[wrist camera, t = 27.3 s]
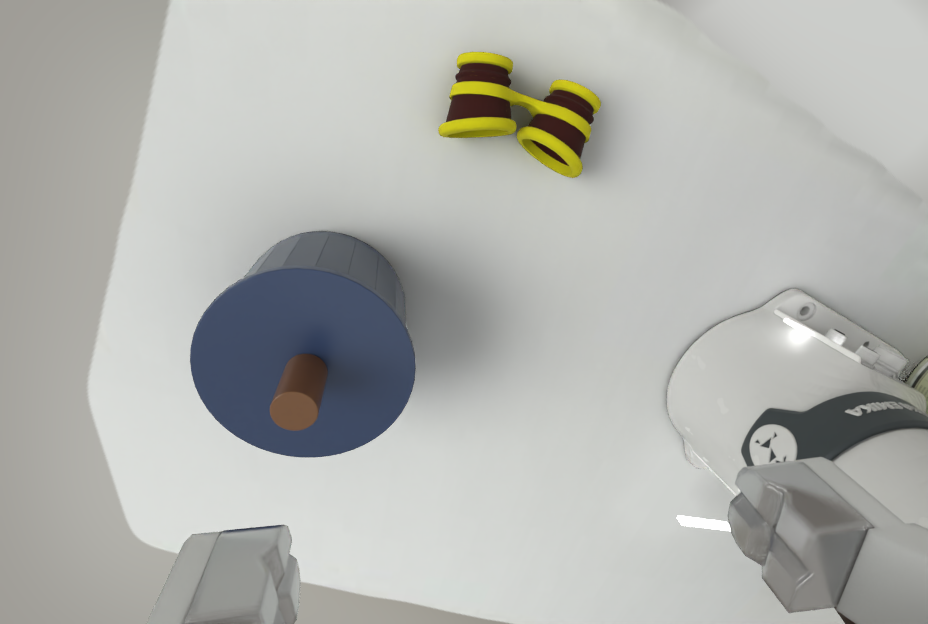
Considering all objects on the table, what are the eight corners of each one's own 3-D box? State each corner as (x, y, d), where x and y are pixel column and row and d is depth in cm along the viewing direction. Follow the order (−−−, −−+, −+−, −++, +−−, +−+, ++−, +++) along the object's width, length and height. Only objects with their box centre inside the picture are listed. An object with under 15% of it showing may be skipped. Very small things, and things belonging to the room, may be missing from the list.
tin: (422, 255, 37) (430, 302, 29) (383, 385, 41) (381, 458, 33) (259, 211, 34) (217, 249, 26) (235, 355, 38) (192, 427, 30)
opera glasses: (585, 104, 35) (619, 90, 30) (562, 179, 36) (592, 177, 31) (453, 56, 33) (467, 33, 28) (432, 138, 34) (443, 128, 29)
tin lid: (439, 292, 29) (448, 331, 25) (386, 459, 34) (384, 519, 29) (211, 235, 26) (172, 267, 22) (186, 426, 31) (148, 487, 26)
